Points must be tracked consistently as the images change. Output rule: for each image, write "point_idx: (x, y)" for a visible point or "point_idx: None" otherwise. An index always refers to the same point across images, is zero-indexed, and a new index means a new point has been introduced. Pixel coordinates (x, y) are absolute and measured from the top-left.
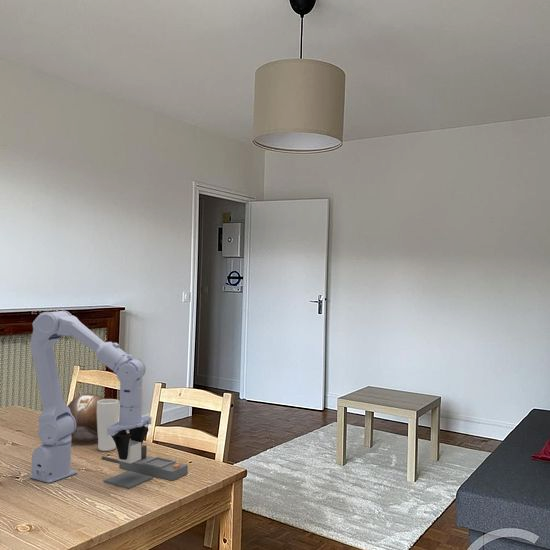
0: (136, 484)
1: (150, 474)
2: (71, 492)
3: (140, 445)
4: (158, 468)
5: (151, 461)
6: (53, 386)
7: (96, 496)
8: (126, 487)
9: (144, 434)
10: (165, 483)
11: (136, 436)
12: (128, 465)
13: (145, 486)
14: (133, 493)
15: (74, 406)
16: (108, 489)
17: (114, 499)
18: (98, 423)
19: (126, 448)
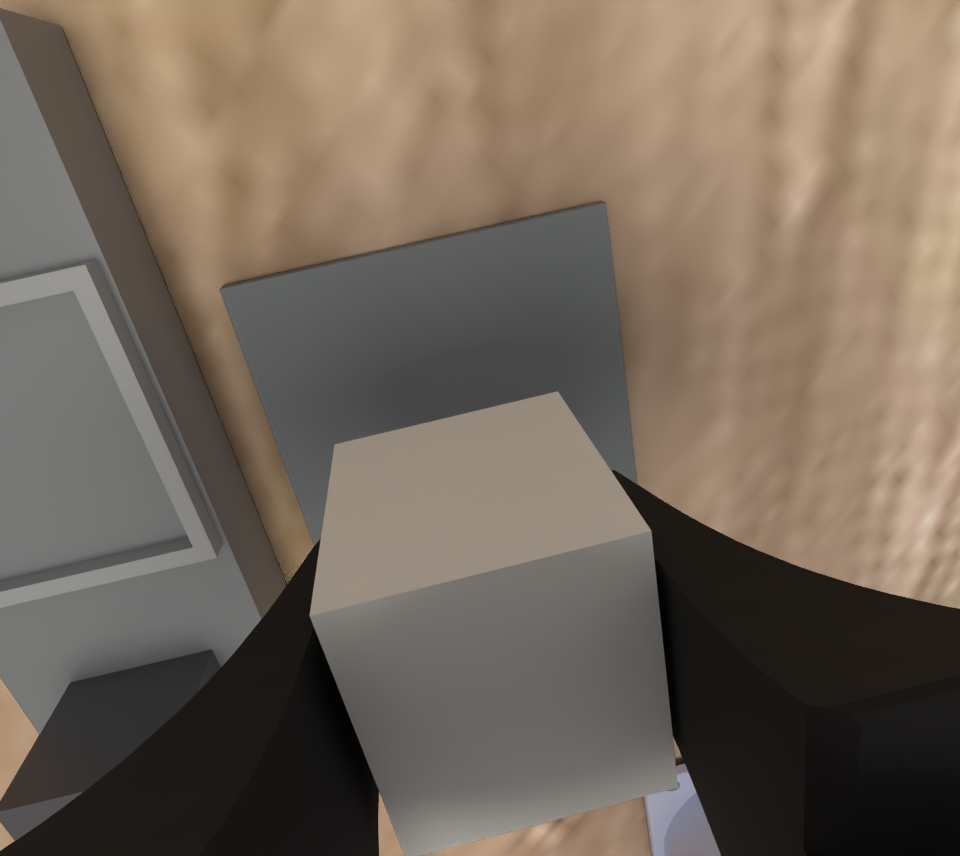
0: (491, 228)
1: (200, 382)
2: (941, 481)
3: (336, 570)
4: (118, 291)
5: (72, 559)
6: None
7: (913, 258)
8: (606, 241)
9: (148, 788)
10: (185, 19)
11: (328, 831)
12: None
13: (433, 128)
14: (658, 38)
15: None
16: (731, 335)
17: (890, 45)
18: None
19: (698, 541)
